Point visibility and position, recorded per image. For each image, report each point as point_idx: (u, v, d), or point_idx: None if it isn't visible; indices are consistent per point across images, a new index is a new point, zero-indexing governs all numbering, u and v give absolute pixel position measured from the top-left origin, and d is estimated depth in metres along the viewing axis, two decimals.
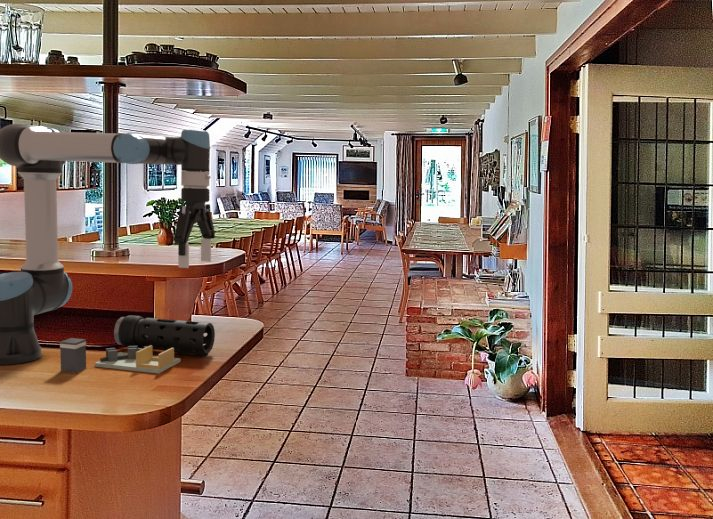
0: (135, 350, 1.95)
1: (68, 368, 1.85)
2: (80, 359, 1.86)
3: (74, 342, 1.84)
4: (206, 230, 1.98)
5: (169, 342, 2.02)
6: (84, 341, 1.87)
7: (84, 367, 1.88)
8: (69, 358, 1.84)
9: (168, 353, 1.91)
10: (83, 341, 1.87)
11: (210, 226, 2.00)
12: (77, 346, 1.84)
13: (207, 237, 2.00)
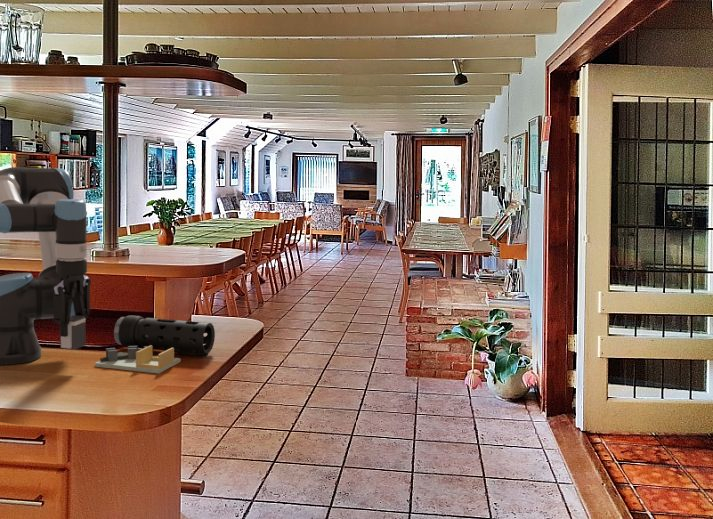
0: (135, 350, 1.95)
1: None
2: (80, 336, 1.86)
3: (74, 319, 1.84)
4: (80, 307, 1.87)
5: (169, 342, 2.02)
6: (83, 318, 1.87)
7: (84, 344, 1.88)
8: None
9: (168, 353, 1.91)
10: (82, 318, 1.86)
11: (86, 303, 1.90)
12: (76, 323, 1.84)
13: None
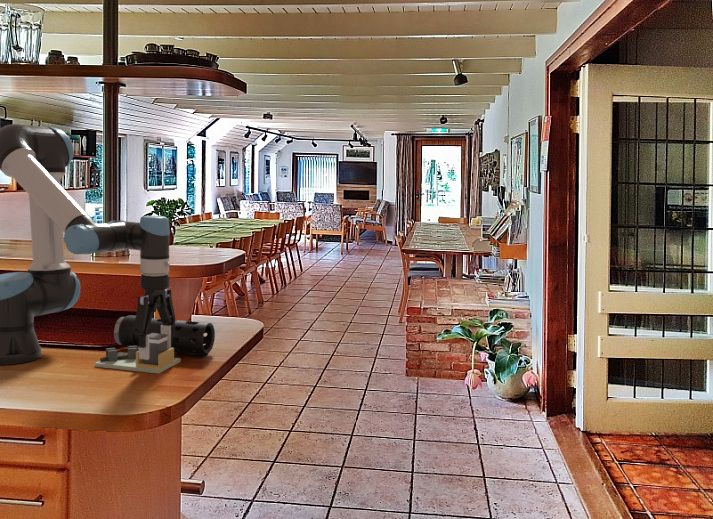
0: (135, 350, 1.95)
1: (151, 362, 1.89)
2: None
3: (158, 337, 1.88)
4: (166, 316, 1.94)
5: None
6: (166, 336, 1.92)
7: None
8: (152, 352, 1.89)
9: (168, 353, 1.91)
10: (165, 336, 1.91)
11: (170, 312, 1.96)
12: (160, 341, 1.89)
13: (167, 324, 1.96)
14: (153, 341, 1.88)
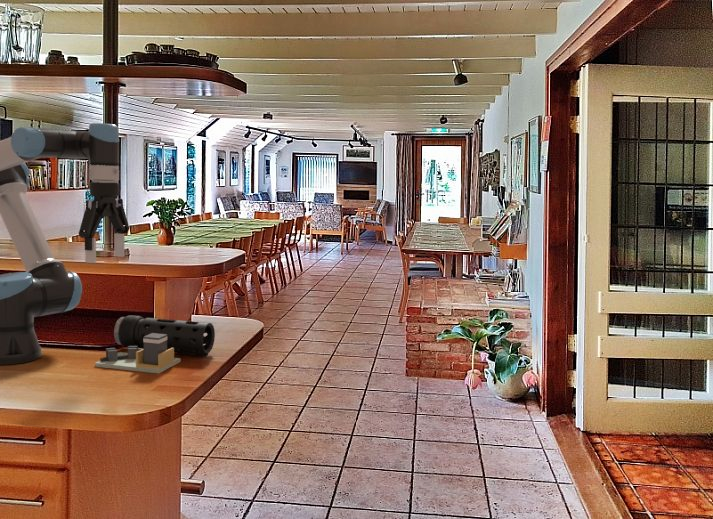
0: (135, 350, 1.95)
1: (151, 362, 1.89)
2: None
3: (158, 337, 1.88)
4: (118, 225, 1.96)
5: (169, 342, 2.02)
6: (166, 336, 1.92)
7: None
8: (152, 352, 1.89)
9: (168, 353, 1.91)
10: (165, 336, 1.91)
11: (123, 221, 1.98)
12: (160, 341, 1.89)
13: (120, 232, 1.98)
14: (153, 341, 1.88)
